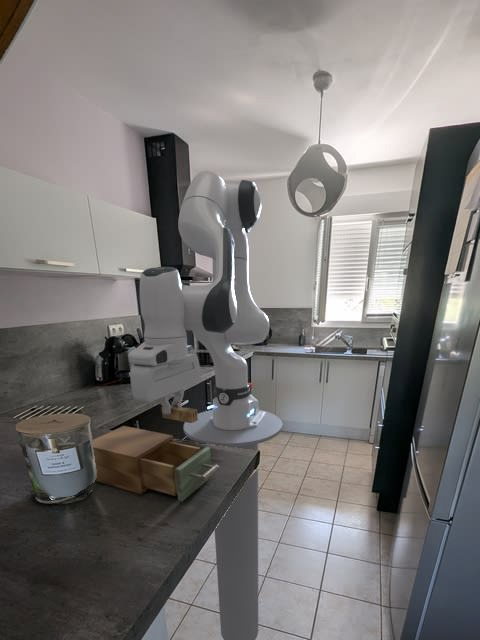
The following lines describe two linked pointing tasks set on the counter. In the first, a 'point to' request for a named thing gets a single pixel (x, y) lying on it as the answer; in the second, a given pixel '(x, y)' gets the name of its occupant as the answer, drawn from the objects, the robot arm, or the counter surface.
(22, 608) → the counter surface
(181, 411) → the yellowish brown block
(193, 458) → the drawer
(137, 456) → the cabinet
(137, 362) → the robot arm
